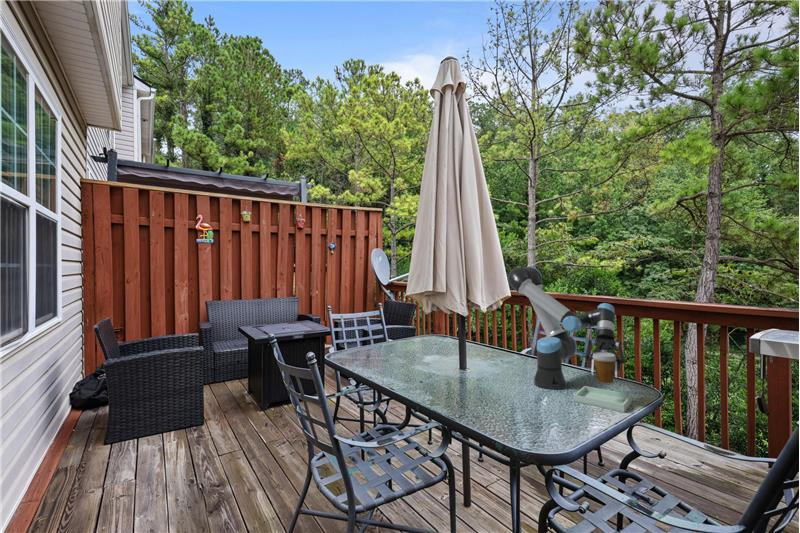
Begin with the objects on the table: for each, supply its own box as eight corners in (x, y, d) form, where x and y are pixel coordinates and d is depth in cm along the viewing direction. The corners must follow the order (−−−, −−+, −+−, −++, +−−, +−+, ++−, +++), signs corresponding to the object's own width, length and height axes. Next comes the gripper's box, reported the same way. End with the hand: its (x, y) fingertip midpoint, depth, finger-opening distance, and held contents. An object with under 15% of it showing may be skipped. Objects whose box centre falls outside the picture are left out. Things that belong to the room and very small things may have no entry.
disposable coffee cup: (604, 385, 167) (603, 357, 167) (588, 379, 176) (587, 353, 176) (622, 383, 169) (621, 355, 169) (605, 377, 179) (604, 351, 178)
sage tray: (573, 401, 174) (573, 395, 174) (584, 392, 186) (584, 385, 186) (624, 412, 161) (624, 405, 161) (632, 401, 173) (632, 394, 173)
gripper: (631, 338, 180) (632, 382, 167) (581, 335, 191) (578, 376, 178) (631, 328, 176) (632, 373, 162) (579, 326, 187) (576, 367, 173)
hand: (604, 374), depth 170 cm, fingers closed on disposable coffee cup, 8 cm apart
